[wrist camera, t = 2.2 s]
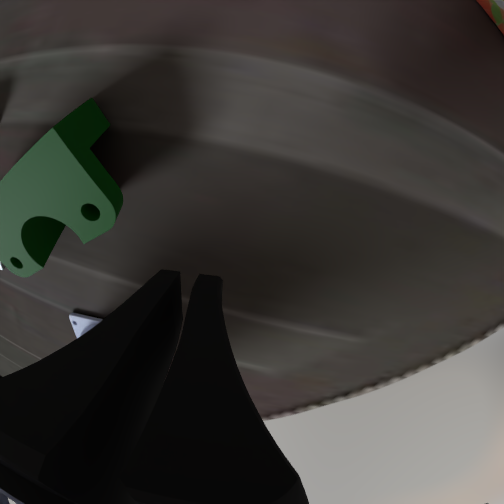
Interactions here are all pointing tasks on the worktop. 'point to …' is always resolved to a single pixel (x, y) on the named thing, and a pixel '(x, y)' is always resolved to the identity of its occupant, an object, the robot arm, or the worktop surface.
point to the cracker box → (494, 11)
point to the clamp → (57, 192)
